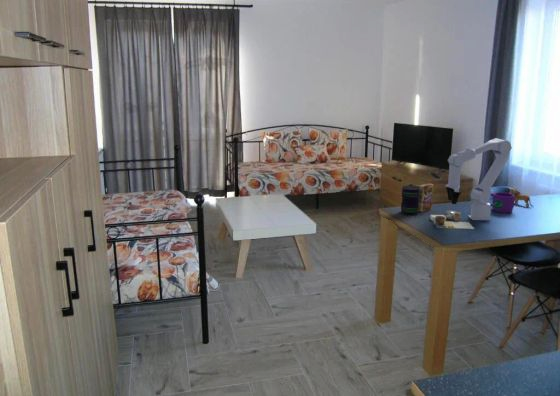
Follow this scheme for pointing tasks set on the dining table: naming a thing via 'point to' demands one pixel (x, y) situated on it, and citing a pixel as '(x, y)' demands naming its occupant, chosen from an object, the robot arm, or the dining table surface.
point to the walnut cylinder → (439, 220)
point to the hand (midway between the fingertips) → (452, 202)
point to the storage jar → (410, 200)
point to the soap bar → (435, 217)
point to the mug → (503, 202)
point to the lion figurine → (520, 197)
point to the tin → (450, 215)
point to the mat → (455, 225)
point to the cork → (457, 217)
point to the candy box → (425, 197)
